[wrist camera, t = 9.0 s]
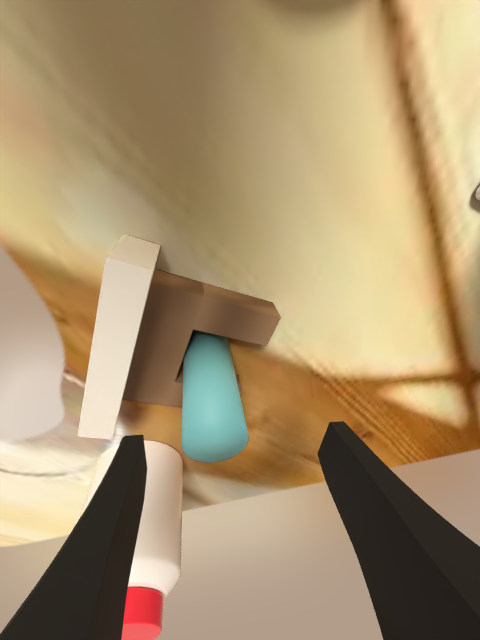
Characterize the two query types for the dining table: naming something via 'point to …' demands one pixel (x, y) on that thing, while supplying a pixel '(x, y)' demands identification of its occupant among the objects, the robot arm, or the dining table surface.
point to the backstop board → (116, 332)
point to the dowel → (211, 401)
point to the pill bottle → (151, 539)
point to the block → (188, 332)
